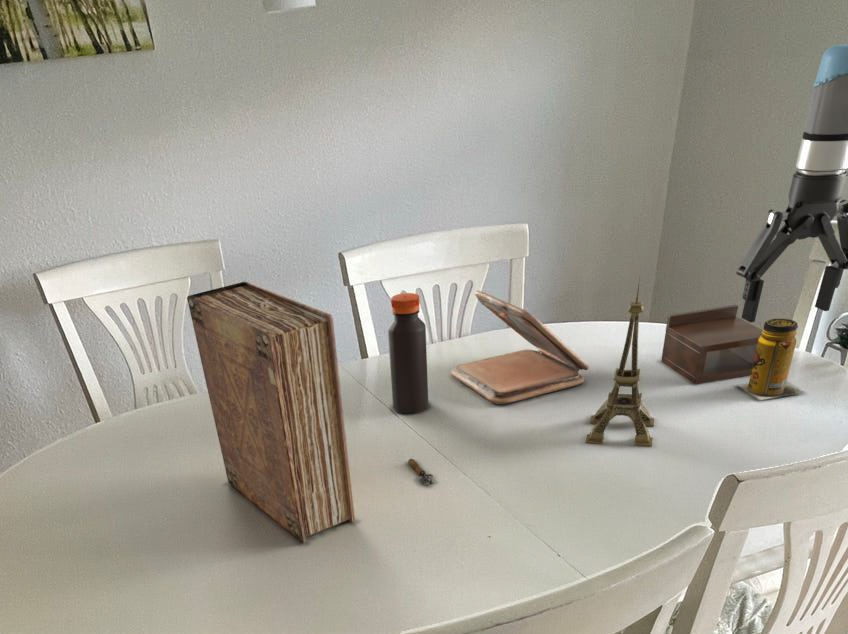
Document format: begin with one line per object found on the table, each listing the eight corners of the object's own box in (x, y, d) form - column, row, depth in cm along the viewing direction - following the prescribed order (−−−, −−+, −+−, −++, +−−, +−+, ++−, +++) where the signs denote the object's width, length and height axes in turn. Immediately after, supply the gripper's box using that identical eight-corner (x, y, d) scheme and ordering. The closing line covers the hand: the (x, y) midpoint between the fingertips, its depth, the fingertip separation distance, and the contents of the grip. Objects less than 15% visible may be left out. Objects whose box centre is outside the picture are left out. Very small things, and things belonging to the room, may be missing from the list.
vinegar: (418, 397, 152) (414, 288, 139) (434, 408, 147) (431, 297, 134) (387, 405, 150) (379, 296, 137) (402, 417, 145) (395, 305, 132)
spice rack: (764, 373, 147) (775, 324, 141) (694, 384, 145) (703, 335, 140) (726, 351, 157) (735, 304, 151) (660, 361, 155) (668, 315, 150)
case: (592, 384, 149) (601, 296, 139) (497, 408, 144) (499, 319, 134) (535, 353, 165) (539, 272, 154) (446, 375, 159) (444, 292, 149)
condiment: (737, 386, 143) (751, 319, 135) (780, 379, 144) (797, 312, 136) (759, 401, 137) (775, 331, 130) (804, 394, 138) (823, 324, 130)
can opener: (407, 464, 130) (407, 458, 130) (421, 462, 131) (421, 456, 130) (423, 489, 123) (423, 482, 123) (437, 486, 124) (437, 480, 123)
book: (356, 523, 116) (333, 315, 98) (303, 545, 113) (269, 334, 94) (276, 466, 134) (243, 280, 115) (227, 483, 130) (186, 294, 111)
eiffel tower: (653, 419, 135) (677, 264, 119) (651, 446, 127) (676, 284, 112) (591, 417, 138) (606, 265, 122) (585, 442, 130) (600, 284, 115)
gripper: (878, 157, 123) (837, 298, 136) (732, 176, 120) (705, 318, 134) (913, 164, 117) (867, 310, 131) (760, 184, 115) (728, 331, 128)
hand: (784, 314), depth 132 cm, fingers open, 13 cm apart
